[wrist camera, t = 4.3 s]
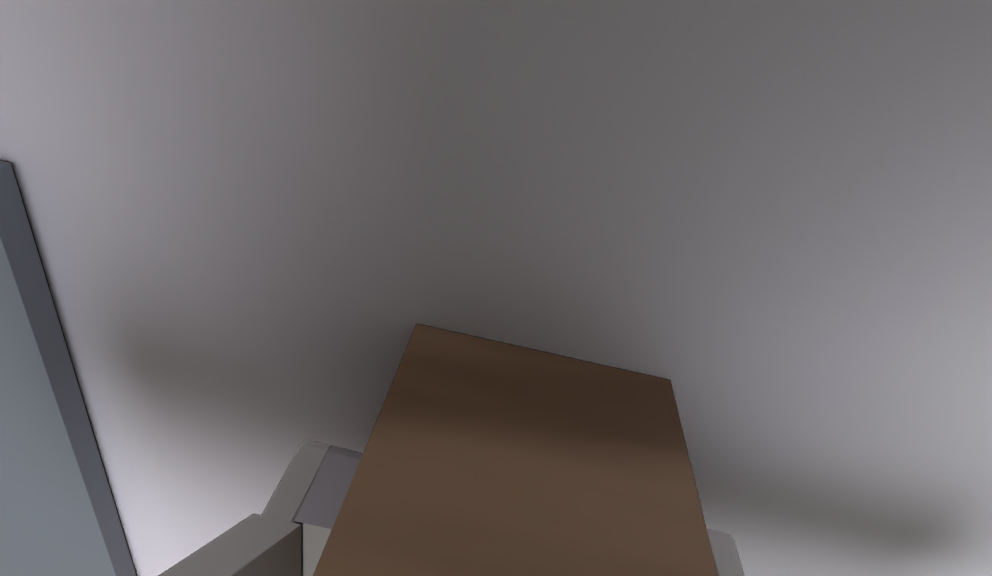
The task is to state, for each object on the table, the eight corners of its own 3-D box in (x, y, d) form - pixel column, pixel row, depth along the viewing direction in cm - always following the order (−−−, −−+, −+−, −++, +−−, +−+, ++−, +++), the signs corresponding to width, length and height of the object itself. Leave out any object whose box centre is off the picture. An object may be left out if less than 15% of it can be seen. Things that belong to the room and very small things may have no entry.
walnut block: (416, 323, 10) (312, 577, 6) (670, 380, 10) (741, 672, 6) (394, 487, 13) (310, 743, 9) (596, 532, 13) (609, 809, 9)
